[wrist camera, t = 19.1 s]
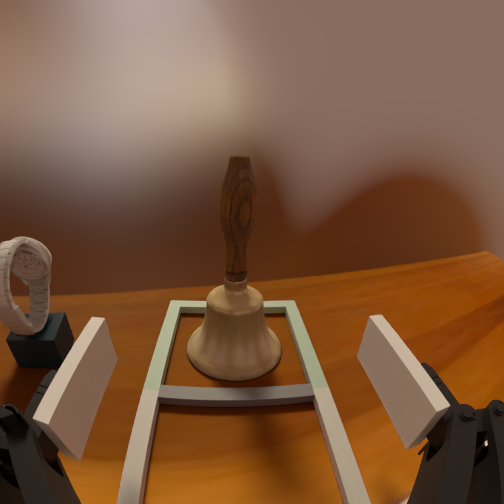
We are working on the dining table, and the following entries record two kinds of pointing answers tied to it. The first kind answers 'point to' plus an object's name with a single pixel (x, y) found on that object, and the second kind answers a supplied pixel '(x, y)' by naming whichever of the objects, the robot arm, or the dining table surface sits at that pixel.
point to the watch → (32, 307)
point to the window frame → (238, 404)
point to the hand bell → (235, 293)
